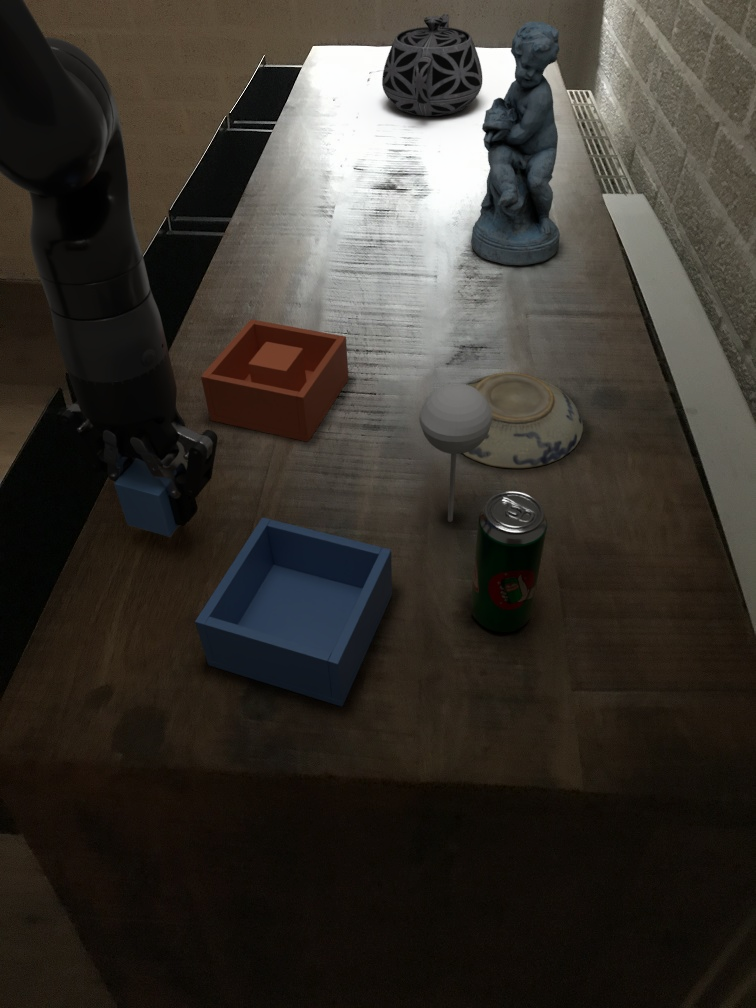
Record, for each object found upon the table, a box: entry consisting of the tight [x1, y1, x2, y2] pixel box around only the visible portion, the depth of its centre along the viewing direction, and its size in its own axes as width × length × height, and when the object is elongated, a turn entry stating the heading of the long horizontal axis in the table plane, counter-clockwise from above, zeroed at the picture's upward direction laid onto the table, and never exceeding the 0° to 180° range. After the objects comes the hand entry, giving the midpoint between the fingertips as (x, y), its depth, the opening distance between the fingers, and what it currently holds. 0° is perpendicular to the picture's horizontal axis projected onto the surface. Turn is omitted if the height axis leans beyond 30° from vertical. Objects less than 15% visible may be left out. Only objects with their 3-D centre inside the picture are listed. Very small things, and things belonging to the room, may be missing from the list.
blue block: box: [113, 458, 180, 538], centre depth 70 cm, size 4×4×5 cm
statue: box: [470, 21, 561, 266], centre depth 104 cm, size 12×23×27 cm, turn 0°
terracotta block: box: [249, 342, 306, 392], centre depth 86 cm, size 4×4×5 cm
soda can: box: [470, 490, 548, 633], centre depth 63 cm, size 5×5×12 cm
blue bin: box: [194, 516, 393, 708], centre depth 64 cm, size 12×12×6 cm
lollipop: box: [418, 382, 492, 523], centre depth 69 cm, size 6×6×15 cm
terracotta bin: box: [200, 318, 349, 443], centre depth 86 cm, size 12×12×6 cm
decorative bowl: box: [462, 371, 584, 470], centre depth 83 cm, size 15×4×15 cm
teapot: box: [381, 13, 483, 117], centre depth 150 cm, size 19×31×15 cm, turn 168°
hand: (160, 511), depth 71 cm, fingers closed on blue block, 4 cm apart
